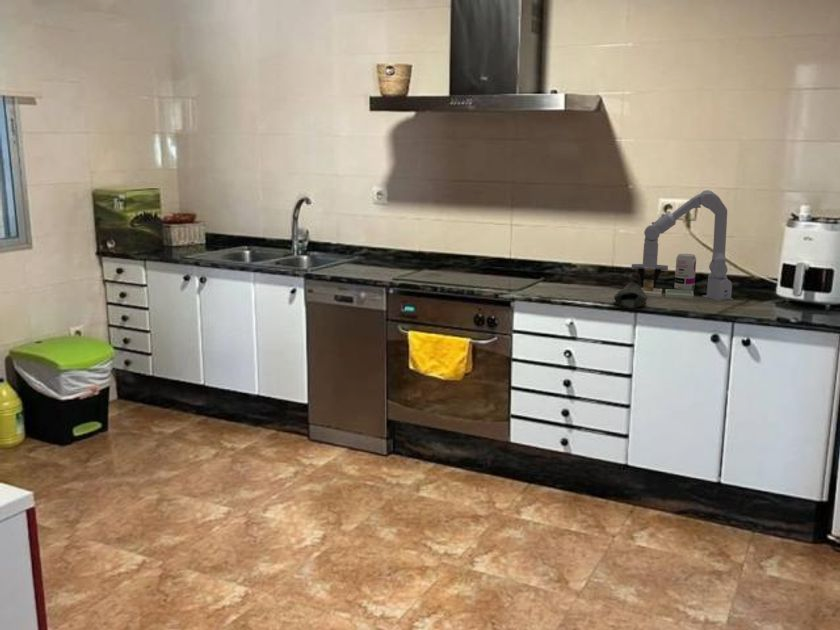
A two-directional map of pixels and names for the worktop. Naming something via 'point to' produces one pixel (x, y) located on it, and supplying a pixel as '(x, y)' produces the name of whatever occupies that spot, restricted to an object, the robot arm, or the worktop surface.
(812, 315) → the worktop surface
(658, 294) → the white tray
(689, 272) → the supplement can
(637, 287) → the dark grey rubber slipper
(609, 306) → the worktop surface
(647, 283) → the letter cube
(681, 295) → the sage tray
